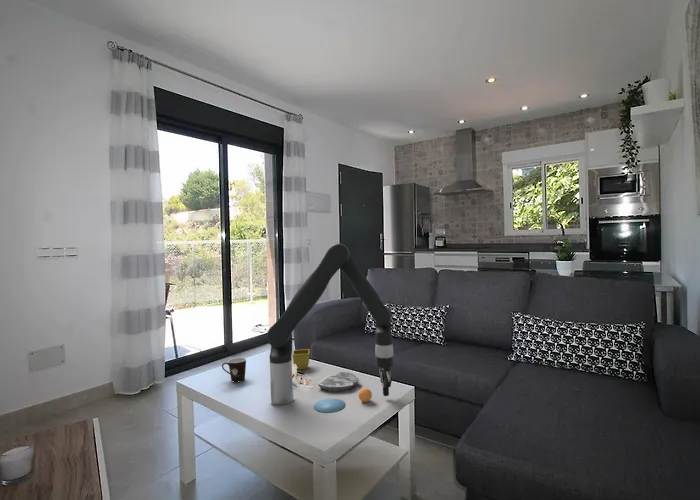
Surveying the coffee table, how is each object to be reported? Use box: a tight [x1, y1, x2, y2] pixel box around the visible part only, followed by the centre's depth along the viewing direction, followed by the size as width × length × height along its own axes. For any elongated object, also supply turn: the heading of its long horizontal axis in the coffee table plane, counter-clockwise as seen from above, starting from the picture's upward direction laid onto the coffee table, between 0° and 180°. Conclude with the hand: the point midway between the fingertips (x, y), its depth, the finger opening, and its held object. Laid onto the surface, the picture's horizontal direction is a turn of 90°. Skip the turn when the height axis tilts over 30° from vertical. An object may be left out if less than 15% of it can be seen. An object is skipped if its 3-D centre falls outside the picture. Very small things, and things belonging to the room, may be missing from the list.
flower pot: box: [292, 348, 310, 371], centre depth 203 cm, size 9×9×9 cm
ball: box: [358, 387, 373, 403], centre depth 158 cm, size 6×6×6 cm
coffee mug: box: [221, 357, 247, 383], centre depth 190 cm, size 12×9×10 cm
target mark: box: [313, 397, 346, 414], centre depth 155 cm, size 13×13×1 cm
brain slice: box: [318, 371, 360, 393], centre depth 177 cm, size 20×17×3 cm
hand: (386, 395), depth 159 cm, fingers closed
